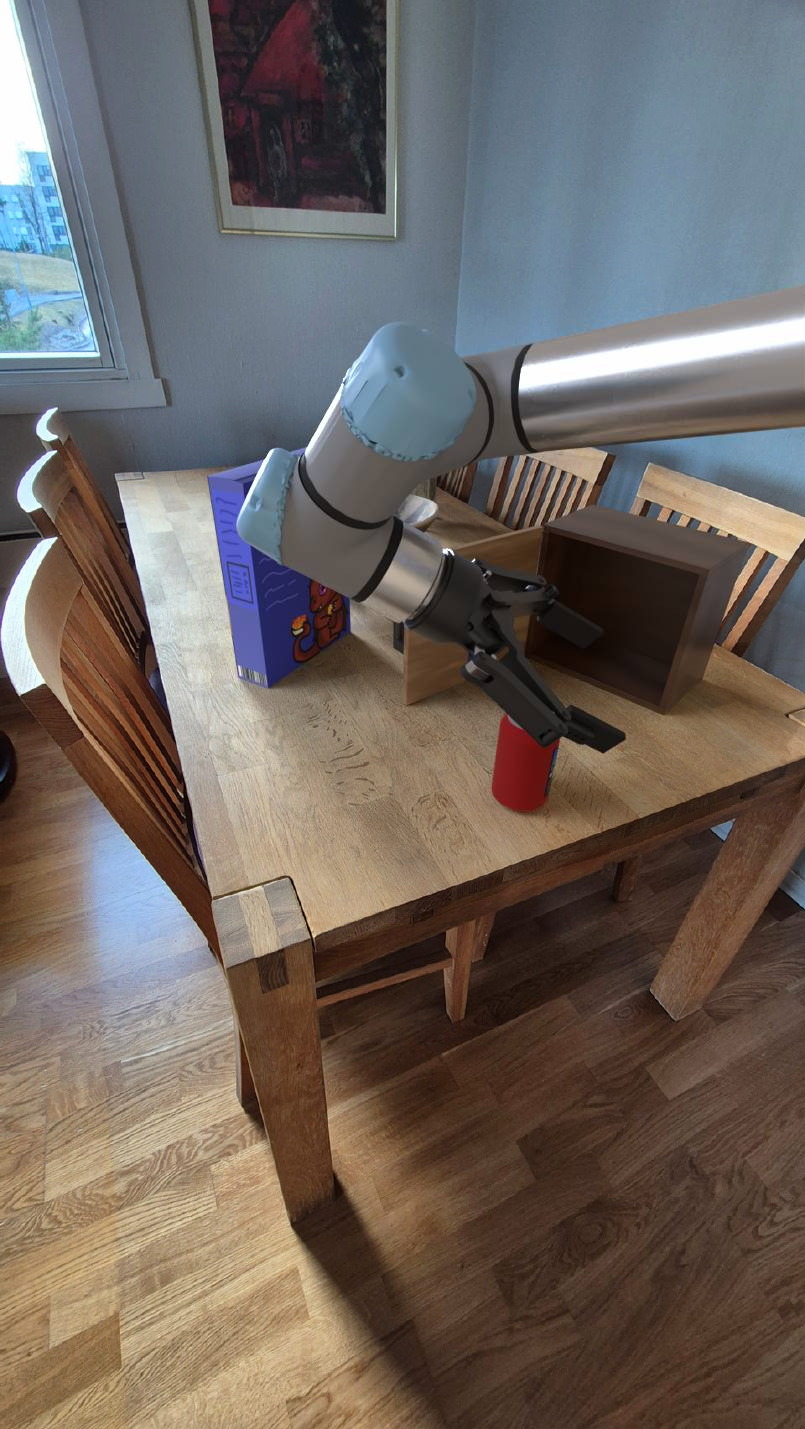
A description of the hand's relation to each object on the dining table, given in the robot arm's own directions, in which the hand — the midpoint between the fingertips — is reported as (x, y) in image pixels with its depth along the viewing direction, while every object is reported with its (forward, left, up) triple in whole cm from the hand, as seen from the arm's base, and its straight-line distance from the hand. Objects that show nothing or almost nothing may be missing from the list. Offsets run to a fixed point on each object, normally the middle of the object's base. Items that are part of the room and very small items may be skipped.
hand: (603, 687), depth 61 cm
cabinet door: (+31, -17, -18) cm, 39 cm away
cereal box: (+53, -3, -19) cm, 56 cm away
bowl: (+66, -33, -19) cm, 77 cm away
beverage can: (+7, 0, -19) cm, 20 cm away
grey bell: (+86, -67, -19) cm, 110 cm away
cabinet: (+14, -36, -18) cm, 43 cm away
